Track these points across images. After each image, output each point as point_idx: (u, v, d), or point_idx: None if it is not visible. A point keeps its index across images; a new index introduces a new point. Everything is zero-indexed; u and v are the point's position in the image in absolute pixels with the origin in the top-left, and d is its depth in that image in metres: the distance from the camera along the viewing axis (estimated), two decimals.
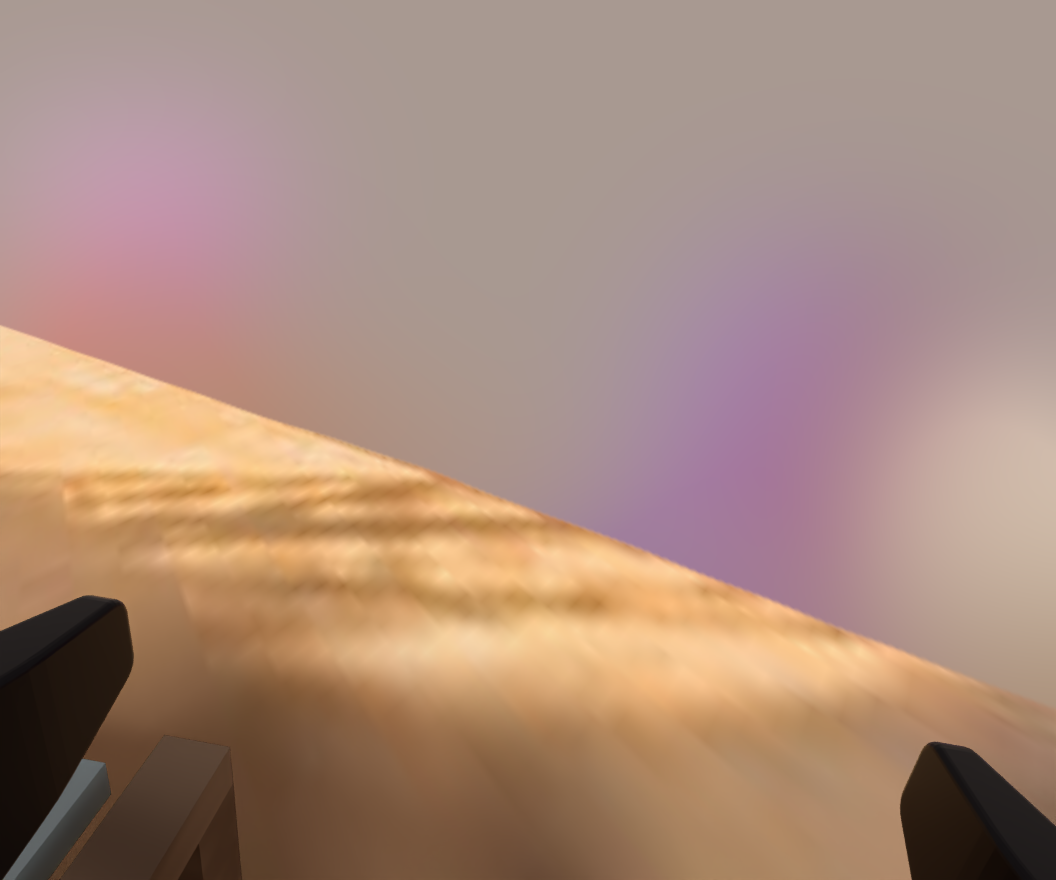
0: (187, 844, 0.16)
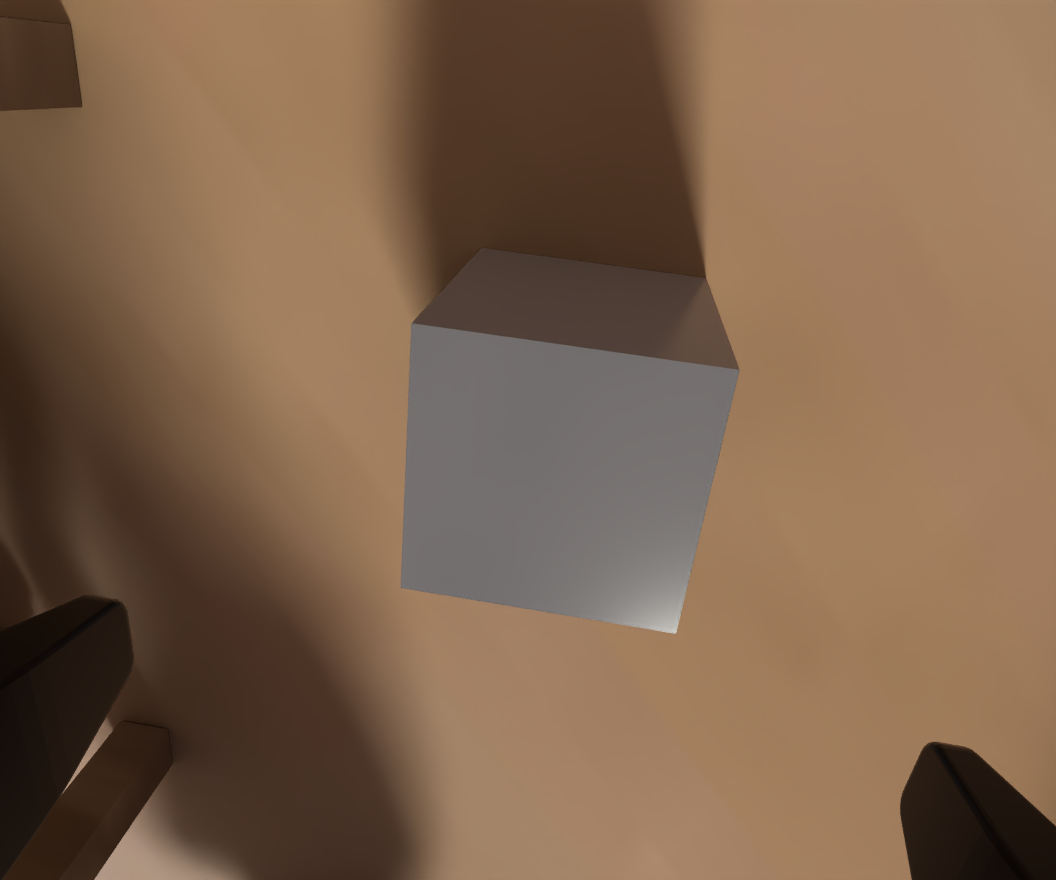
0: None
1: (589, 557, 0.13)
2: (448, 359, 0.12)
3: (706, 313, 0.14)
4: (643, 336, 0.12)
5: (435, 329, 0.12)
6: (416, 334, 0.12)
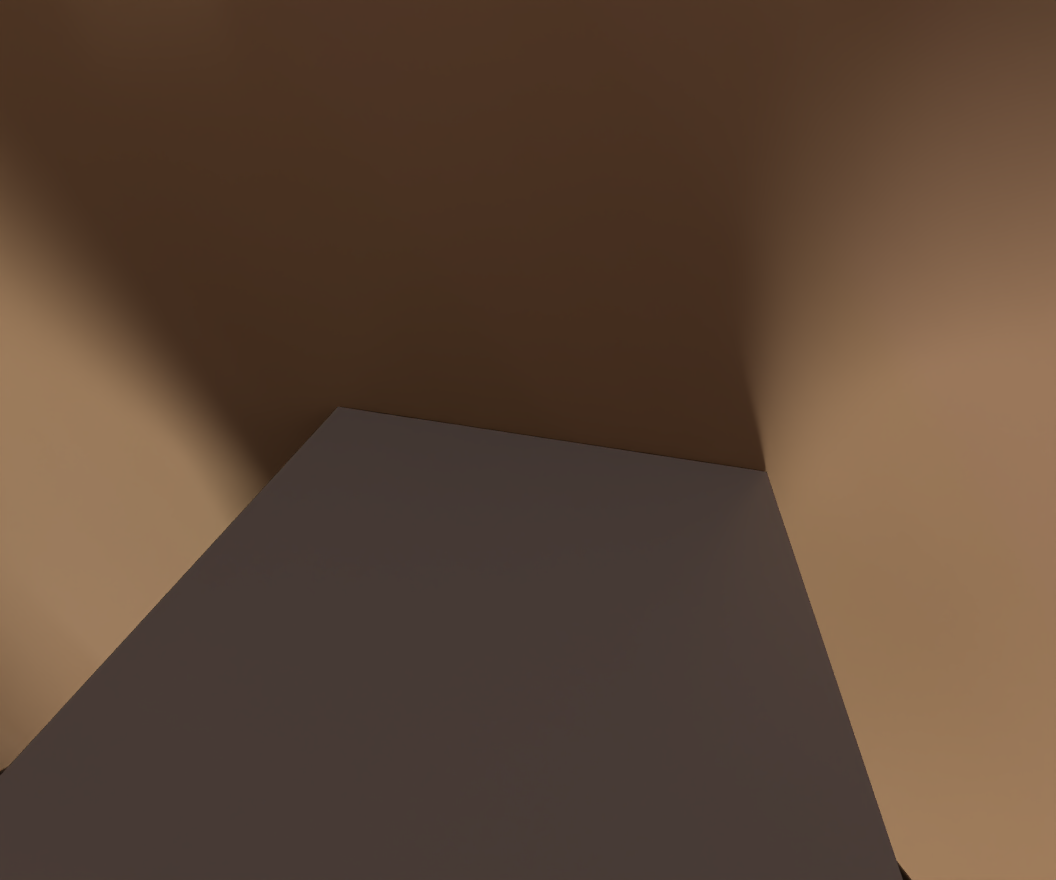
0: None
1: None
2: None
3: (795, 645, 0.06)
4: (646, 844, 0.04)
5: None
6: None
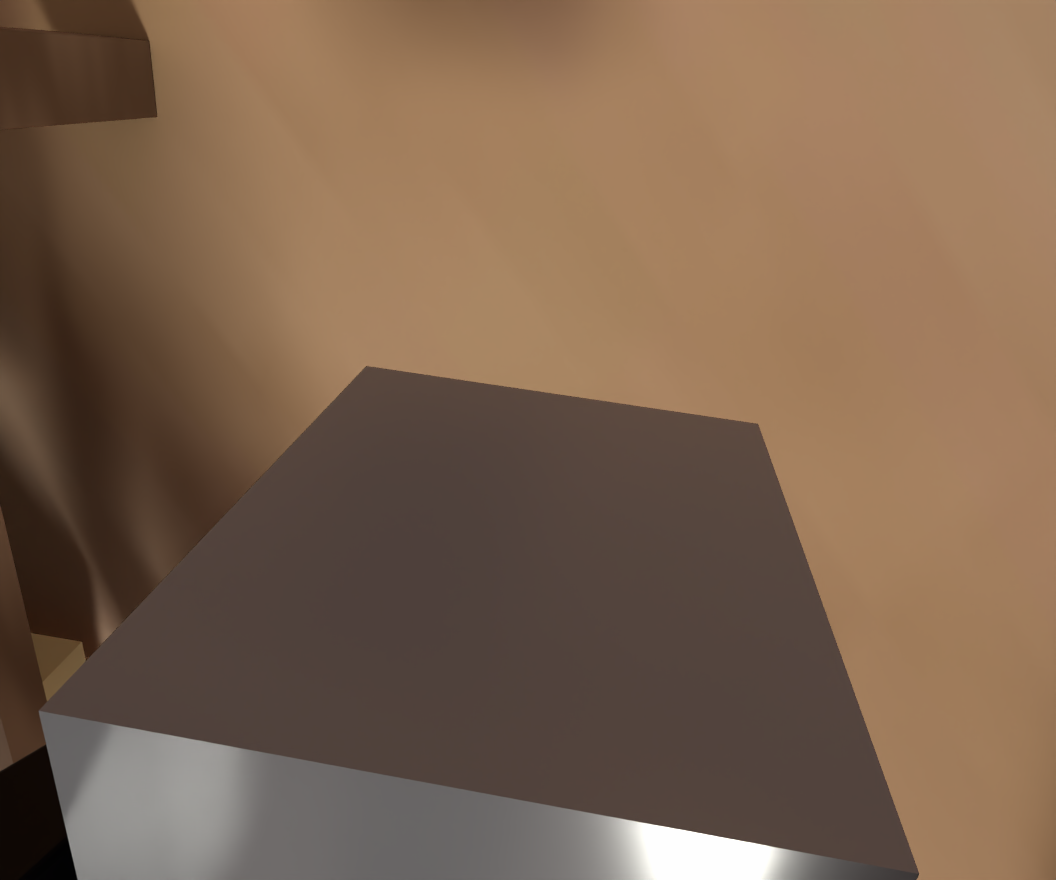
0: None
1: None
2: (149, 788, 0.05)
3: (779, 557, 0.07)
4: (650, 693, 0.05)
5: (100, 729, 0.04)
6: (58, 733, 0.05)
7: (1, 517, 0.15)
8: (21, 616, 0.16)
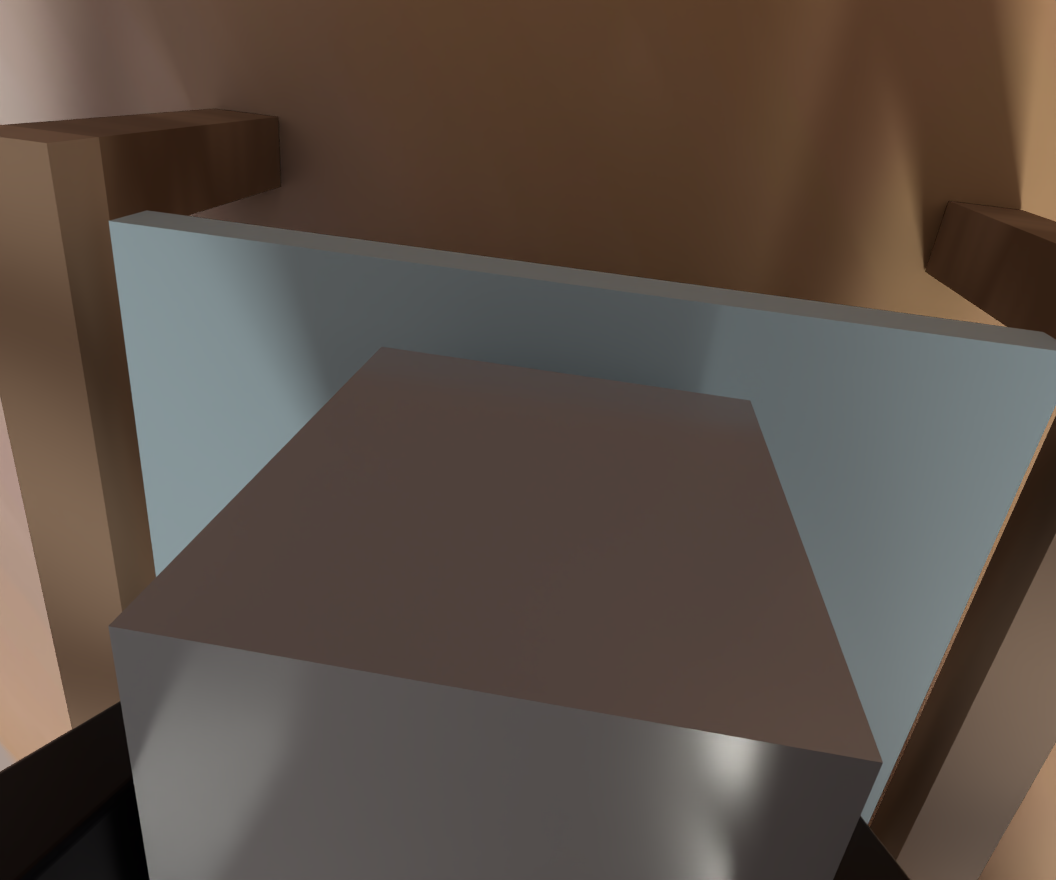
0: None
1: None
2: (204, 699, 0.05)
3: (767, 512, 0.07)
4: (648, 621, 0.06)
5: (163, 641, 0.05)
6: (124, 647, 0.05)
7: None
8: None
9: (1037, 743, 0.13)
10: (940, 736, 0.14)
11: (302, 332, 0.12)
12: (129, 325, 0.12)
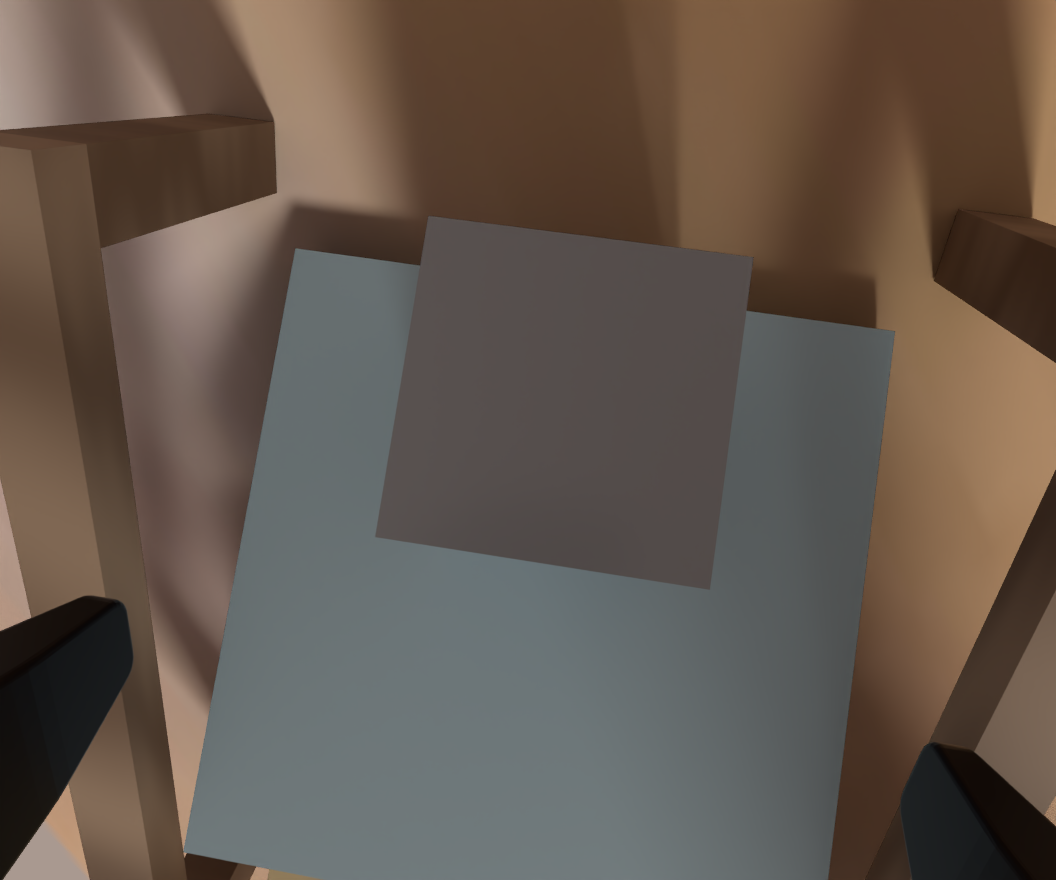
0: None
1: (604, 483, 0.11)
2: (462, 251, 0.12)
3: None
4: None
5: (451, 221, 0.12)
6: (431, 227, 0.12)
7: None
8: None
9: (1052, 769, 0.13)
10: None
11: (407, 319, 0.18)
12: (288, 314, 0.18)
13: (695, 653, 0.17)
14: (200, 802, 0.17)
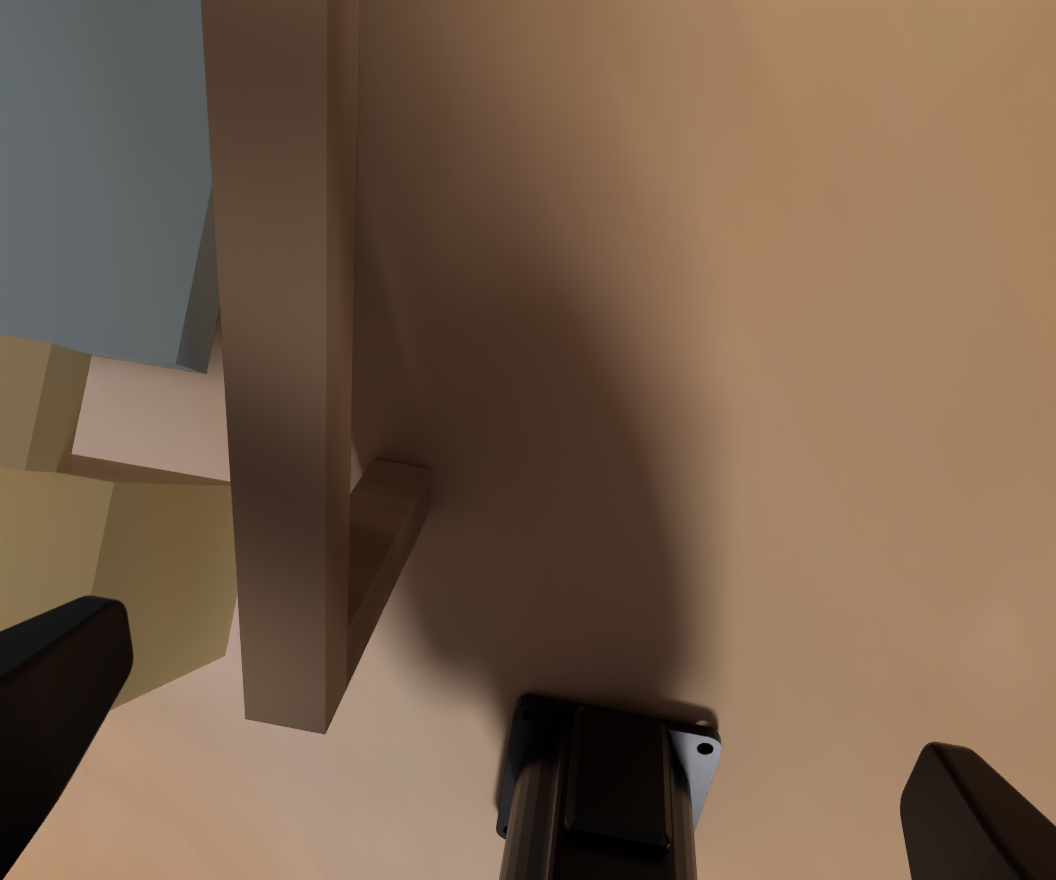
0: None
1: None
2: None
3: None
4: None
5: None
6: None
7: None
8: (354, 118, 0.11)
9: None
10: None
11: None
12: None
13: None
14: None
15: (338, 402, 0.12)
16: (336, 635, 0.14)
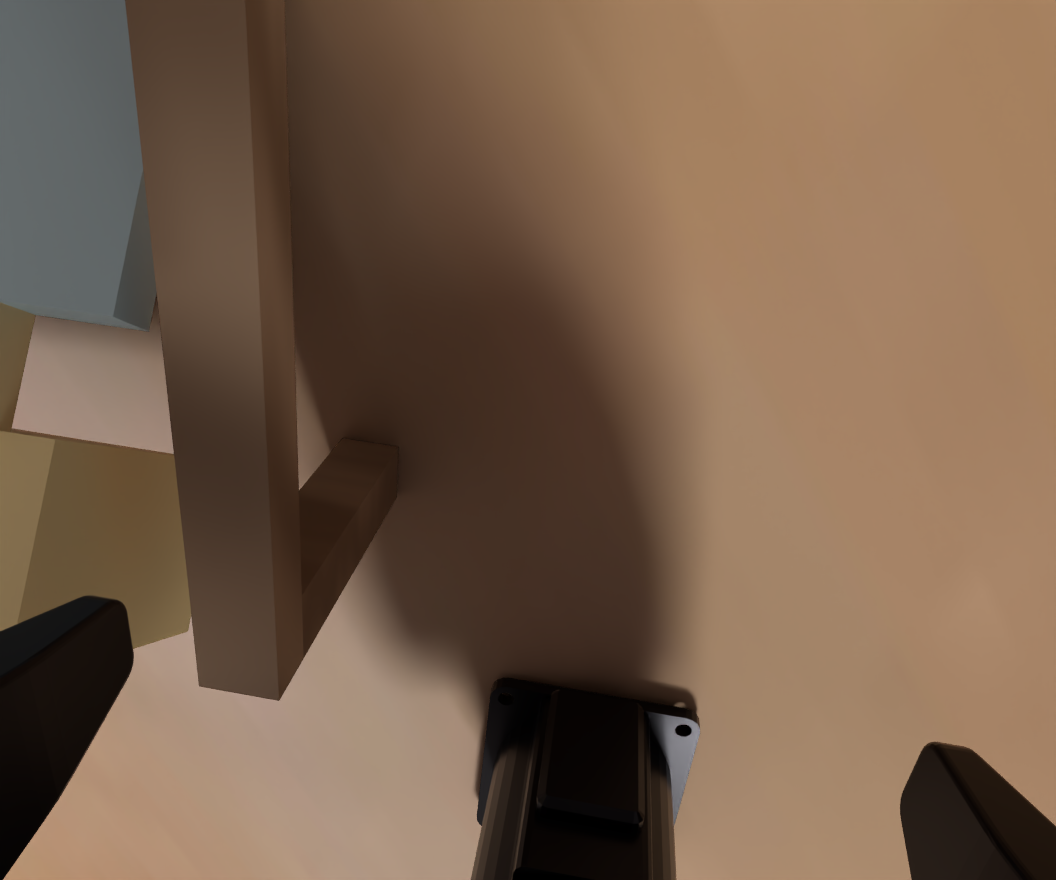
0: None
1: None
2: None
3: None
4: None
5: None
6: None
7: None
8: (282, 64, 0.11)
9: None
10: None
11: None
12: None
13: None
14: None
15: (277, 355, 0.12)
16: (288, 599, 0.14)
